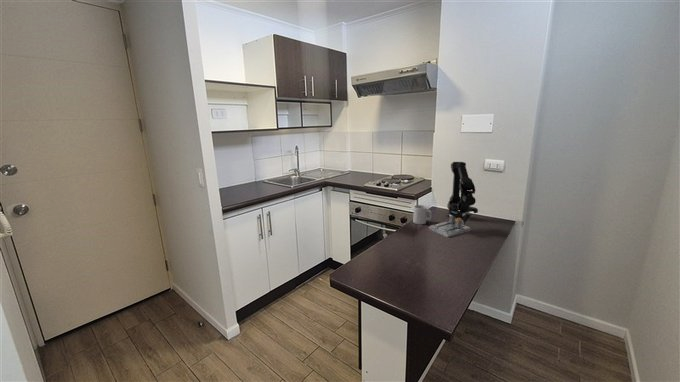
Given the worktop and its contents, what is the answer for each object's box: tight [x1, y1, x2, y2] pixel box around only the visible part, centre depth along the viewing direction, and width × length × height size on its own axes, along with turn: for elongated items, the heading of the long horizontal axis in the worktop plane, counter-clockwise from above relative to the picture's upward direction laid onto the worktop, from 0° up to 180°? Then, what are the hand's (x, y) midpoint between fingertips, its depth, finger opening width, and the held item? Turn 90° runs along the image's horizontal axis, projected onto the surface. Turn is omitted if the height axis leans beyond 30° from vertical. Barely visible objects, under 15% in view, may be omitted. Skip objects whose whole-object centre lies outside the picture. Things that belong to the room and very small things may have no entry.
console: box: [428, 220, 471, 238], centre depth 176 cm, size 20×15×3 cm
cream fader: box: [448, 213, 456, 223], centre depth 181 cm, size 3×2×5 cm
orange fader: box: [455, 217, 462, 228], centre depth 173 cm, size 3×2×5 cm
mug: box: [412, 204, 433, 225], centre depth 188 cm, size 12×8×11 cm
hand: (463, 224), depth 175 cm, fingers closed
